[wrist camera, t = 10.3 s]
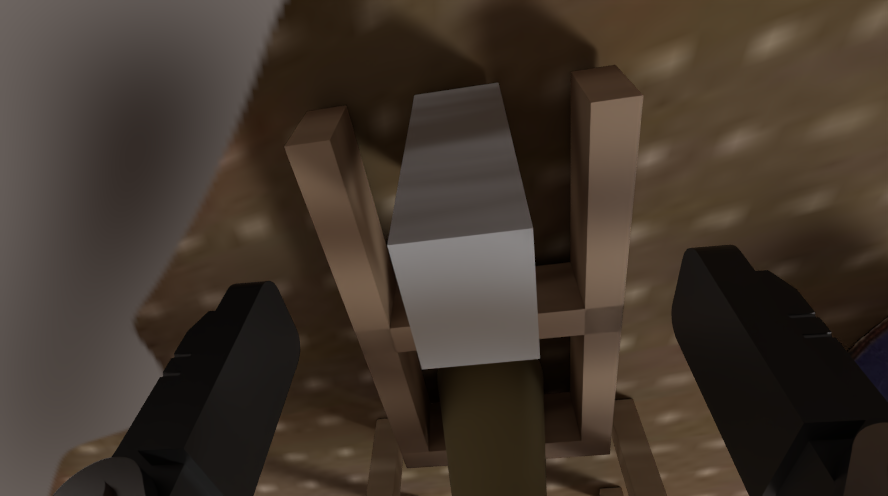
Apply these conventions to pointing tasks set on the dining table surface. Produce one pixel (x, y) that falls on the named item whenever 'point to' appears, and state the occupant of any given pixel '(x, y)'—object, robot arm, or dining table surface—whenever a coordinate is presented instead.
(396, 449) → the wooden stool
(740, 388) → the robot arm
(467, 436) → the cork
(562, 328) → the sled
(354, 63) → the dining table surface
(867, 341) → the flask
